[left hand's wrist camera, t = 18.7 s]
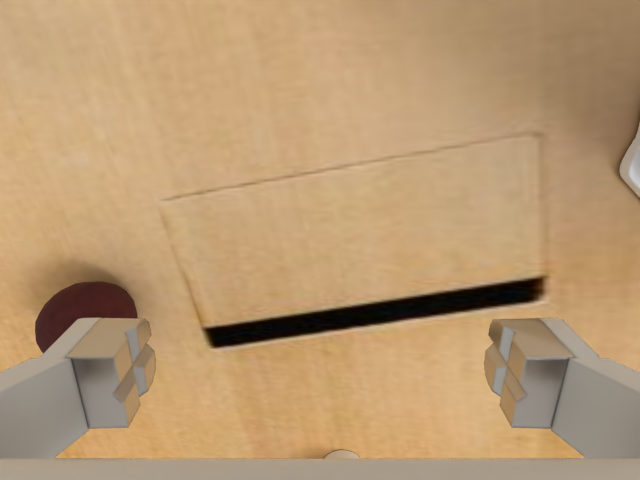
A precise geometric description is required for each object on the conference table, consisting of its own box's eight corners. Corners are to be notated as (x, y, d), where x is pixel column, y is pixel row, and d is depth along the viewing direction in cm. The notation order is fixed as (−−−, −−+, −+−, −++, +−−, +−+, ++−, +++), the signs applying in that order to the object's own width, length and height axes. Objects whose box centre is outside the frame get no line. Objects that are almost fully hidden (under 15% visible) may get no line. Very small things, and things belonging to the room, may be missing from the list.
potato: (50, 300, 40) (-4, 344, 33) (106, 250, 38) (62, 287, 31) (111, 352, 42) (72, 403, 35) (167, 307, 40) (137, 352, 33)
